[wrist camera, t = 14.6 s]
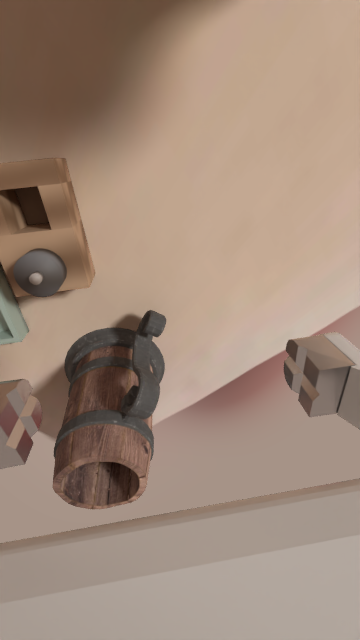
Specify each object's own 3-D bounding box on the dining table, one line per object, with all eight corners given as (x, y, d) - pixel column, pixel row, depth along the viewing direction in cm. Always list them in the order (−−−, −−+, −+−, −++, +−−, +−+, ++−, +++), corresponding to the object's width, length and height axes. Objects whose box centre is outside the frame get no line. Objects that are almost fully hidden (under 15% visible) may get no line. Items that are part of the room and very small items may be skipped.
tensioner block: (-16, 166, 31) (-64, 168, 24) (65, 158, 31) (42, 157, 24) (30, 281, 38) (3, 309, 31) (95, 273, 39) (84, 299, 31)
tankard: (138, 414, 54) (136, 533, 36) (50, 387, 48) (-2, 514, 30) (203, 321, 45) (240, 421, 27) (105, 274, 39) (75, 364, 22)
